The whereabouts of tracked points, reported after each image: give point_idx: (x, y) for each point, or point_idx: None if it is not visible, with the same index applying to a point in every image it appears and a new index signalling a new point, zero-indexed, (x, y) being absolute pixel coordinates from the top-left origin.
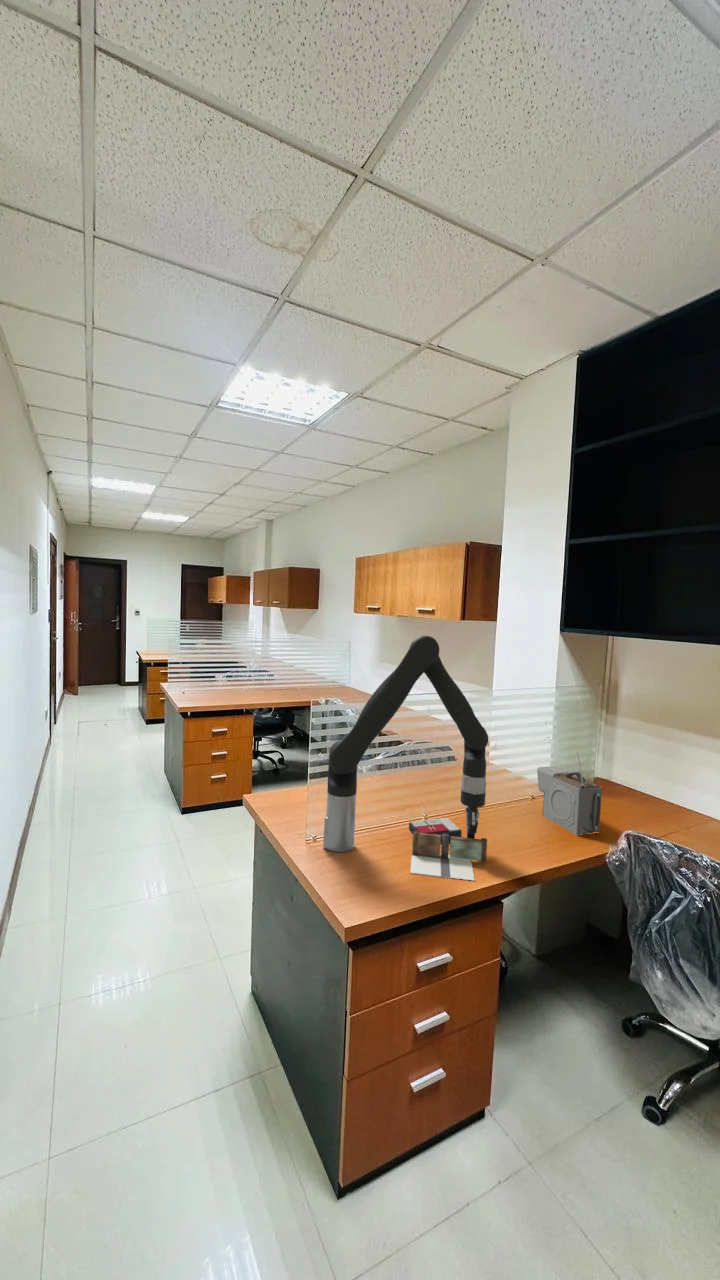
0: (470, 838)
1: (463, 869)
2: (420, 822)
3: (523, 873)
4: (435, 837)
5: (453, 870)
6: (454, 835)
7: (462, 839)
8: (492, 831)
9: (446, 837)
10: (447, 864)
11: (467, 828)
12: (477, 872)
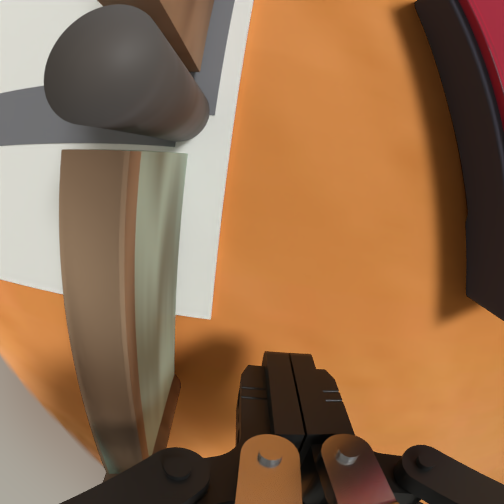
0: (126, 418)
1: (36, 233)
2: None
3: None
4: None
5: (15, 167)
6: (489, 261)
7: (68, 323)
8: (490, 424)
9: (53, 80)
10: (72, 129)
11: (294, 470)
12: (45, 309)
